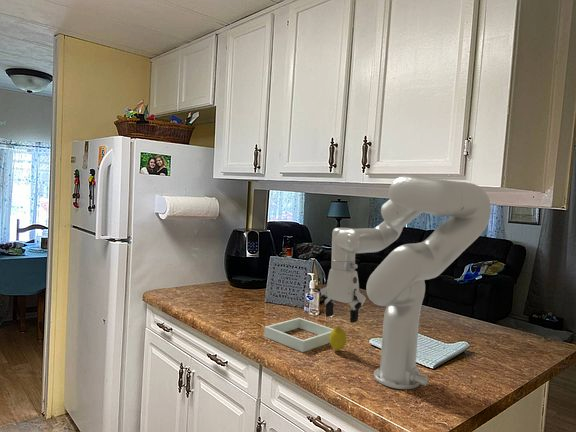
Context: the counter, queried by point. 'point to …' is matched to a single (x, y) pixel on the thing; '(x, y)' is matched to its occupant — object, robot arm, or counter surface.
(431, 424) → the counter surface
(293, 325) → the pale green square frame
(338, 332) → the lemon
